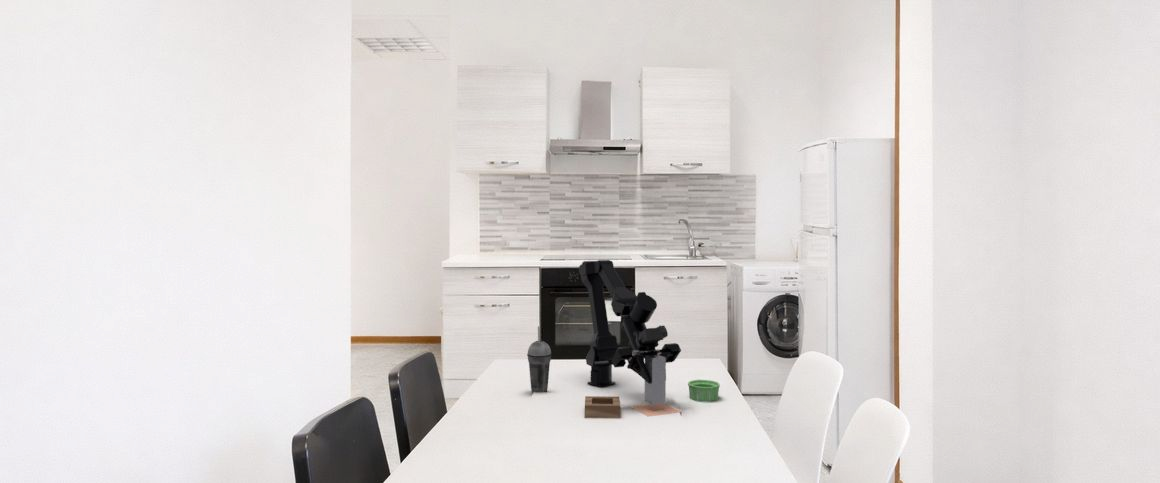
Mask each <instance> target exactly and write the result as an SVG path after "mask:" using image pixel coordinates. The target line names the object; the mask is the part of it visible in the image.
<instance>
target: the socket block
mask: <svg viewBox="0 0 1160 483" xmlns="http://www.w3.org/2000/svg"><path fill="white" fill-rule="evenodd" d="M620 399H621V398H620V396H605V395H603V396H600V395H599V396H598V395H597V396H596V395H595V396H593V395H591V396H589V395H585V396H584V419H585V418H586V419H591V418H592V419H605V418H606V419H621V400H620Z"/></svg>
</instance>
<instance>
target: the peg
mask: <svg viewBox="0 0 1160 483" xmlns="http://www.w3.org/2000/svg"><path fill="white" fill-rule="evenodd" d="M644 363H645V365H646V368H647V370H648V372H649V375H650V378H651V383H650V384H649V383H648V382H646V381H645V380H644V401H645V402H646V403H647V404H652V405H653V404H661V403H665V404H666V393H667V392H666V381H667V369H666V366H667V365H666V364H667V363H666V357H663V356H661V355H647V356H645V358H644Z"/></svg>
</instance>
